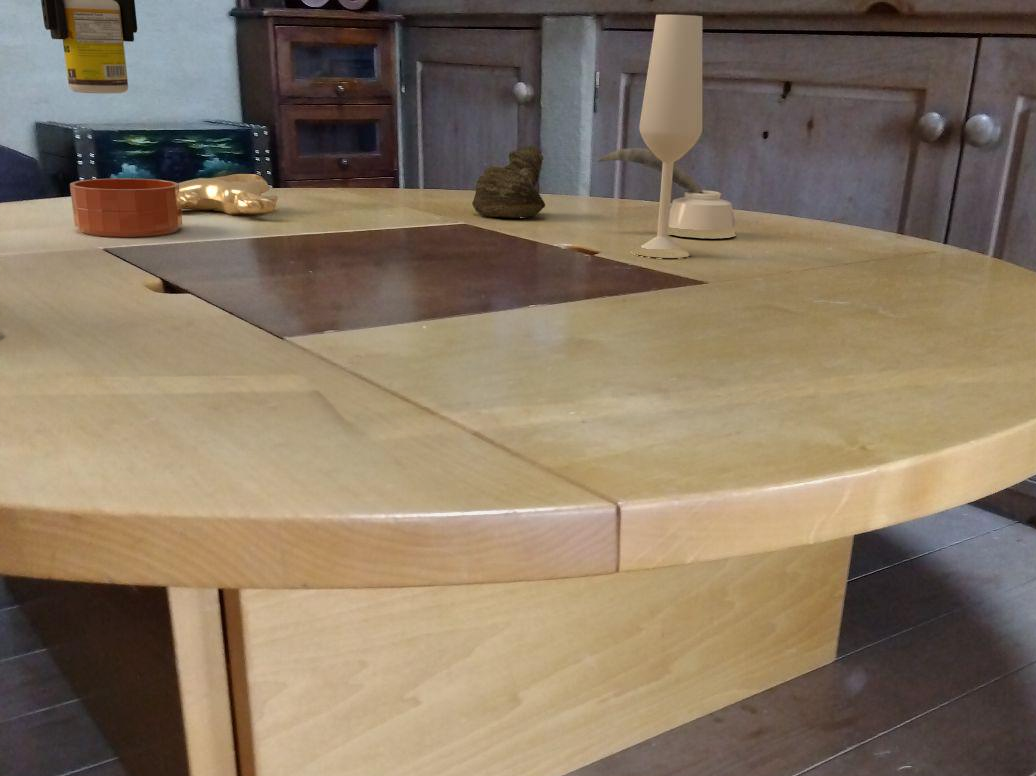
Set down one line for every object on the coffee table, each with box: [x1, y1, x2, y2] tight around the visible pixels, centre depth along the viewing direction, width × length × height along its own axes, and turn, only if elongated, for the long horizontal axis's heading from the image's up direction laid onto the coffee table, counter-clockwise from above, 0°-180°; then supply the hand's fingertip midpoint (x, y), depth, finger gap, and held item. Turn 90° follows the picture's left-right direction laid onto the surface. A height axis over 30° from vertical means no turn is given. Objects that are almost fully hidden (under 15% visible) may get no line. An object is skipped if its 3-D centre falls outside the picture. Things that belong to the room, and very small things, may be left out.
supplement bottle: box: [62, 0, 129, 94], centre depth 109 cm, size 6×6×10 cm
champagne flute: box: [630, 14, 703, 260], centre depth 120 cm, size 7×7×24 cm
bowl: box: [69, 177, 183, 238], centre depth 126 cm, size 11×11×5 cm
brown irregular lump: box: [471, 145, 546, 219], centre depth 147 cm, size 11×12×10 cm
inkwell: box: [596, 147, 736, 230], centre depth 137 cm, size 9×18×10 cm, turn 100°
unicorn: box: [177, 173, 279, 215], centre depth 141 cm, size 20×4×17 cm
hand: (92, 38), depth 109 cm, fingers closed on supplement bottle, 5 cm apart
